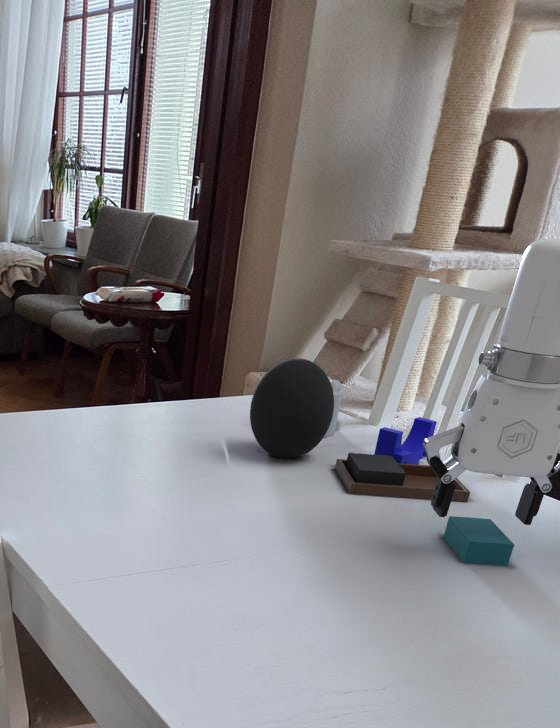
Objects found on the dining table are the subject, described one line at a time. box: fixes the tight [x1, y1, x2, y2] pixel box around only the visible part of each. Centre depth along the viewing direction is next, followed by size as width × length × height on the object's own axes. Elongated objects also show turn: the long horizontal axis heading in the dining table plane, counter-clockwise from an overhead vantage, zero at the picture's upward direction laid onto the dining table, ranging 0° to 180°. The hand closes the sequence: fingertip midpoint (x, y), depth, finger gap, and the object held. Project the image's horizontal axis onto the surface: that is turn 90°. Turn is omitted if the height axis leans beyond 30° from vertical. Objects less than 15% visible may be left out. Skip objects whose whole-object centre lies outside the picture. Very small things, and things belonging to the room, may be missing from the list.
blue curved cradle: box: [373, 416, 438, 465], centre depth 132 cm, size 12×4×6 cm, turn 133°
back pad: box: [346, 452, 406, 486], centre depth 123 cm, size 6×8×3 cm
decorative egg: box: [249, 357, 334, 460], centre depth 130 cm, size 12×12×15 cm
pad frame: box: [334, 458, 471, 503], centre depth 123 cm, size 16×11×2 cm
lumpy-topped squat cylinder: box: [323, 375, 344, 439], centre depth 147 cm, size 10×13×9 cm
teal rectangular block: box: [443, 515, 515, 567], centre depth 102 cm, size 5×8×4 cm, turn 176°
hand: (480, 516), depth 100 cm, fingers open, 9 cm apart
